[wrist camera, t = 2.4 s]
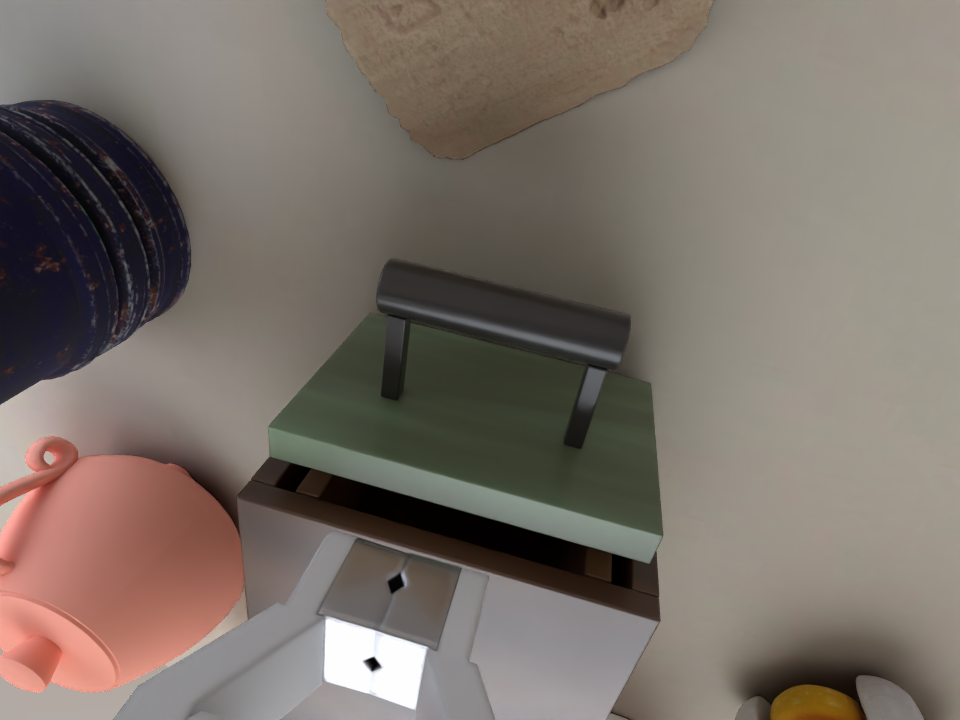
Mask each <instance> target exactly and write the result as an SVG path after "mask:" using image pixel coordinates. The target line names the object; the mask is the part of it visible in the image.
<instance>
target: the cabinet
mask: <svg viewBox="0 0 960 720" xmlns="http://www.w3.org/2000/svg"><path fill="white" fill-rule="evenodd" d="M310 470H311V468H308V467H305V466H301V465H298V464H294V463H290V462H287V461H283V460H280V459H276V458H273V457H269V458H268V459H267V460H266V461H265V463H264V464H263V465H262V466H261V468H260V469H259V470H258V471H257V472H256V474H255V475H254V476H253V477H252V479H251V481H249V482H248V484H247V485H246V486H245V487H244V488H243V490H242V491H241V492H240V493H239V494H238V496H237V508H238V518H239V529H240V539H241V550H242V561H243V571H244V582H245V592H246V603H247V613H248V620H249V619H251V618H252V617H254V616H256V615H257V614H259V613H261V612H262V611H264V610H266V609H268V608H269V607H271V606H273V605H274V604H276V603H281V604H284V605H285V604H286V603H287V601H288V599H289V598H290V596H291V594H292V592H293V591H294V589H295V587H296V586H297V584H298V582H299V581H300V579H301V577H302V576H303V574H304V572H305V571H306V569H307V567H308V565H309V564H310V562H311V560H312V559H313V557H314V555H315V554H316V552H317V550H318V549H319V547H320V545H321V544H322V542H323V540H324V538H325V537H326V536H327V535H328V534H329V533H330V532H331V531H332V530H336V531H339V532H342V533H346V534H349V535H352V536H356V537H359V538H362V539H365V540H368V541H371V542H374V543H377V544H381V545H384V546H387V547H390V548H393V549H396V550H399V551H402V552H405V553H413V554H417V555H420V556H424V557H428V558H431V559H435V560H439V561H442V562H446V563H449V564H453V565H457V566H460V567H462V568H465V569H468V570H472V571H475V572H479V573H482V574H486V575H489V582H488V586H487V590H486V594H485V598H484V602H483V606H482V611H481V615H480V619H479V623H478V627H477V631H476V635H475V640H474V644H473V648H472V652H471V656H470V660H469V661H470V662H472V663H475V664H478V668H479V671H480V674H481V677H482V680H483V683H484V686H485V689H486V692H487V695H488V698H489V701H490V704H491V707H492V710H493V713H494V716H495V719H496V720H607V718H608V716H609V714H610V712H611V710H612V709H613V707H614V705H615V703H616V701H617V699H618V698H619V696H620V694H621V692H622V690H623V688H624V687H625V685H626V683H627V681H628V679H629V677H630V676H631V674H632V672H633V670H634V668H635V666H636V665H637V663H638V661H639V659H640V657H641V655H642V654H643V652H644V650H645V648H646V646H647V644H648V643H649V641H650V639H651V637H652V635H653V633H654V632H655V630H656V628H657V626H658V624H659V622H660V606H659V584H658V568H657V553H656V552H655V554H654V556H653V558H652V560H651V562H650V563H649V564H648V563H644V562H641V561H637V560H633V559H630V558H626V557H623V556H619V555H616V554H612V579H611V583H606V582H603V581H599V580H596V579H592V578H589V577H585V576H582V575H579V574H575V573H572V572H568V571H565V570H561V569H558V568H554V567H551V566H547V565H544V564H540V563H537V562H533V561H530V560H527V559H523V558H520V557H516V556H513V555H509V554H506V553H502V552H499V551H495V550H492V549H488V548H485V547H481V546H478V545H474V544H471V543H468V542H464V541H461V540H457V539H454V538H450V537H447V536H443V535H440V534H436V533H433V532H429V531H426V530H422V529H419V528H416V527H412V526H409V525H405V524H402V523H398V522H395V521H391V520H388V519H384V518H381V517H377V516H374V515H370V514H367V513H363V512H360V511H357V510H353V509H350V508H346V507H343V506H339V505H336V504H332V503H329V502H325V501H322V500H318V499H315V498H311V497H308V496H305V495H301V494H298V493H296V489H297V488H298V487H299V485H300V484H301V482H302V481H303V480H304V478H305V477H306V475H307V474H308V472H309V471H310ZM461 570H462V569H461ZM280 720H416V716H415V710H413V709H411V708H408V707H405V706H402V705H399V704H396V703H394V702H391V701H388V700H385V699H382V698H379V697H377V696H374V695H371V694H368V693H364V692H361V691H357V690H354V689H350V688H347V687H343V686H340V685H336V684H333V683H329V682H326V681H322V685H320V686H319V687H318V688H317V689H316V690H315V691H313V692H312V693H311V694H310V695H309V696H307V697H306V698H305V699H304V700H303V701H302V702H300V703H299V704H298V705H297V706H296V707H295V708H293V709H292V710H291V711H290V712H289V713H287V714H286V715H285V716H284V717H283V718H282V719H280Z"/></svg>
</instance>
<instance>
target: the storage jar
mask: <svg viewBox="0 0 960 720" xmlns="http://www.w3.org/2000/svg"><path fill="white" fill-rule="evenodd" d="M190 266H191V250H190V243H189V236H188V231H187V228H186V224H185V221H184V218H183V215H182V212H181V210H180V208H179V205H178V203H177V201H176V198H175V196H174V194H173V193H172V191H171V189H170V187H169V186H168V184H167V182H166V180H165V179H164V177H163V176H162V175H161V173H160V172H159V170H158V169H157V168H156V166H155V165H154V163H153V162H152V161H151V160H150V159H149V158H148V156H147V155H146V154H145V153H144V152H143V151H142V150H141V149H140V148H139V146H138V145H137V144H135V143H134V142H133V141H132V140H131V139H130V138H129V137H128V136H126V135H125V134H124V133H123V132H122V131H121V130H119V129H118V128H116V127H115V126H114V125H112V124H111V123H109V122H108V121H107V120H105V119H103V118H102V117H100V116H98V115H96V114H94V113H92V112H90V111H88V110H86V109H84V108H81V107H78V106H75V105H73V104H70V103H65V102H59V101H54V100H35V101H26V102H21V103H17V104H13V105H0V404H2V403H4V402H5V401H7V400H9V399H10V398H12V397H14V396H15V395H17V394H19V393H20V392H22V391H24V390H25V389H27V388H29V387H30V386H32V385H34V384H36V383H37V382H39V381H41V380H48V379H54V378H57V377H61V376H64V375H66V374H68V373H69V372H72V371H76V370H79V369H81V368H82V367H84V366H86V365H88V364H89V363H90V362H91V361H92V360H93V359H94V358H95V357H97V356H99V355H101V354H103V353H105V352H107V351H108V350H110V349H112V348H113V347H115V346H117V345H118V344H120V343H121V342H123V341H125V340H126V339H128V338H129V337H130V336H131V335H132V334H133V333H134V332H135V331H136V330H137V329H138V328H140V327H142V326H143V325H144V324H145V323H146V322H149V321H151V320H153V319H154V318H156V317H158V316H160V315H161V314H163V313H165V312H166V311H168V310H169V309H170V308H171V307H172V306H173V305H174V304H175V303H176V302H177V301H178V299H179V298H180V296H181V295H182V293H183V292H184V289H185V287H186V284H187V281H188V278H189V272H190Z"/></svg>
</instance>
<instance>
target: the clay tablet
mask: <svg viewBox="0 0 960 720" xmlns="http://www.w3.org/2000/svg"><path fill="white" fill-rule="evenodd" d="M326 6H327V15H328V16H329V18H330V19H331V20H332V21H333V22H334V23H335V25H336V26H337V27H338V28H339V29H340V30H341V34H342V40H343V43H344V46H345V48H346V51H347V52H348V53H349V54H350V55H351V56H352V57H354V59H355V61H356V64H357V67H358V68H359V70H360V71H361V72H362V74H363V75H364V76H365V77H366V78H368V80H369V83H370V85H371V86H372V87H373V88H374V90H375V91H376V92H377V93H378V94H380V95H381V97H382V98H383V99H384V100H385V101H387V108H388V112H389V114H390V115H392V116H393V117H395V118H400V126H401V127H402V128H403V129H405V130H407V131H410V140H412V141H414V142H417V143H420V144H421V145H422V146H423V147H424V148H425V149H426V150H427V151H428V152H430V153H431V154H433V156H434V157H435V156H437V157H438V158H442V157H444V156H446V157H448V158H449V159H454V158H456V159H465V158H467V157H468V156H470V155H472V154H474V153H476V152H477V151H479V150H481V149H483V148H485V147H487V146H489V145H492V144H494V143H496V142H498V141H500V140H503V139H505V138H507V137H509V136H511V135H513V134H516V133H518V132H520V131H522V130H524V129H526V128H528V127H530V126H532V125H533V124H535V123H537V122H540V121H542V120H545V119H547V118H550V117H553V116H555V115H558V114H560V113H563V112H565V111H567V110H569V109H571V108H573V107H575V106H580V105H581V104H583V103H584V102H585V101H587V100H588V99H590V98H591V97H592V96H594V95H597V94H600V93H603V92H606V91H609V90H614V89H618V88H620V87H623V86H625V85H626V84H627V83H628V81H629V80H630V79H632V78H633V77H635V76H637V75H639V74H641V73H644V72H646V71H648V70H652V69H654V68H658V67H660V66H662V65H665V64H667V63H669V62H670V61H672V60H674V59H675V58H676V57H677V56H678V55H679V54H680V53H682V52H685V51H688V50H689V49H690V48H691V46H692V44H693V42H694V40H695V38H696V37H697V36H698V35H699V33H700V32H701V31H702V30H703V29H705V28H706V26H707V24H708V20H707V16H708V12H709V10H710V8H711V6H712V0H326Z"/></svg>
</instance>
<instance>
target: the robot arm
mask: <svg viewBox="0 0 960 720" xmlns="http://www.w3.org/2000/svg"><path fill="white" fill-rule="evenodd" d="M461 569H462V570H461ZM488 582H489V575H486V574H482V573H479V572H475V571H472V570H468V569H465V568H462V567H460V566H457V565H453V564H449V563H446V562H442V561H439V560H435V559H431V558H428V557H424V556H420V555H417V554H413V553H405V552H402V551H399V550H396V549H393V548H390V547H387V546H384V545H381V544H377V543H374V542H371V541H368V540H365V539H362V538H359V537H356V536H352V535H349V534H346V533H342V532H339V531H336V530H332V531H331V532H330V533H329V534H328V535H327V536H326V537H325V538H324V540H323V542H322V544H321V545H320V547H319V549H318V550H317V552H316V554H315V555H314V557H313V559H312V560H311V562H310V564H309V565H308V567H307V569H306V571H305V572H304V574H303V576H302V577H301V579H300V581H299V582H298V584H297V586H296V587H295V589H294V591H293V592H292V594H291V596H290V598H289V599H288V601H287V603H286V604H285V605H284V604H281V603H276V604H274V605H273V606H271V607H269V608H268V609H266V610H264V611H262V612H261V613H259V614H257V615H256V616H254V617H252V618H251V619H249V620H247V621H246V622H244V623H242V624H241V625H239V626H237V627H236V628H234V629H232V630H231V631H229V632H227V633H226V634H224V635H222V636H221V637H219V638H217V639H216V640H214V641H212V642H211V643H209V644H207V645H206V646H204V647H202V648H201V649H199V650H197V651H196V652H194V653H192V654H191V655H189V656H187V657H185V658H184V659H182V660H180V661H179V662H177V663H175V664H174V665H172V666H170V667H169V668H167V669H165V670H164V671H162V672H160V673H159V674H157V675H155V676H154V677H152V678H150V679H149V680H147V681H146V682H144V683H142V684H140V685H139V686H138V687H137V688H136V690H135V691H134V692H133V694H132V695H131V696H130V698H129V699H128V700H127V701H126V703H125V704H124V705H123V707H122V708H121V710H120V711H119V712H118V713H117V715H116V716H115V718H114V719H113V720H280V719H282V718H283V717H284V716H285V715H286V714H287V713H289V712H290V711H291V710H292V709H293V708H295V707H296V706H297V705H298V704H299V703H300V702H302V701H303V700H304V699H305V698H306V697H307V696H309V695H310V694H311V693H312V692H313V691H315V690H316V689H317V688H318V687H319V686H320V685H322V681H326V682H329V683H333V684H336V685H340V686H343V687H347V688H350V689H354V690H357V691H361V692H364V693H368V694H371V695H374V696H377V697H379V698H382V699H385V700H388V701H391V702H394V703H396V704H399V705H402V706H405V707H408V708H411V709H413V710H415V716H416V720H496V719H495V716H494V713H493V710H492V707H491V704H490V701H489V698H488V695H487V692H486V689H485V686H484V683H483V680H482V677H481V674H480V671H479V668H478V664H475V663H472V662H470V661H469V660H470V656H471V652H472V648H473V644H474V640H475V635H476V631H477V627H478V623H479V619H480V615H481V611H482V606H483V602H484V598H485V594H486V590H487V586H488Z"/></svg>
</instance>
